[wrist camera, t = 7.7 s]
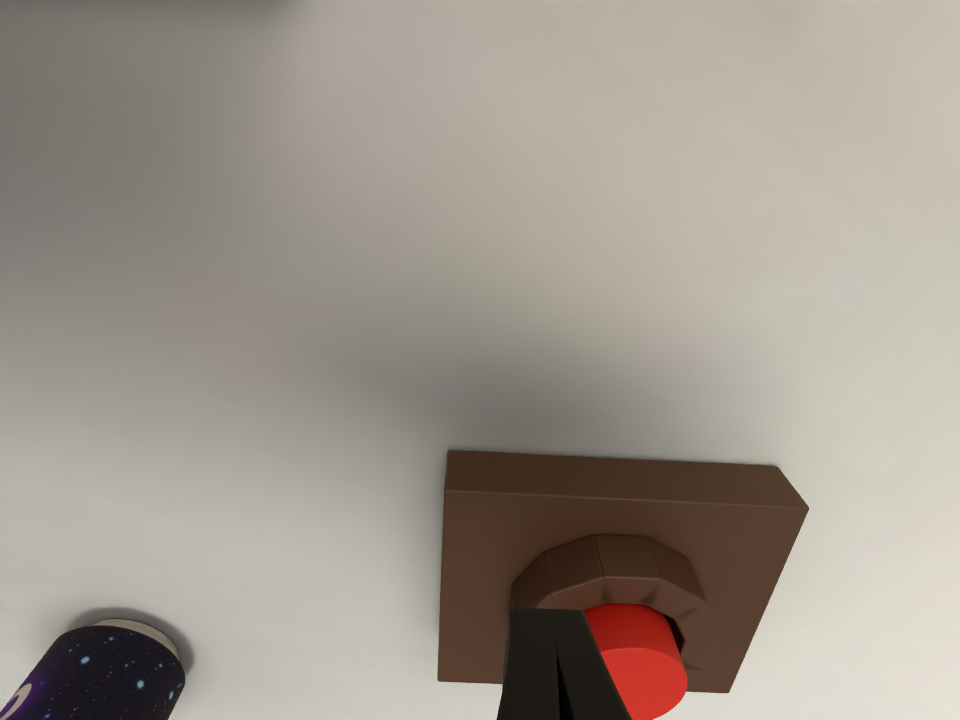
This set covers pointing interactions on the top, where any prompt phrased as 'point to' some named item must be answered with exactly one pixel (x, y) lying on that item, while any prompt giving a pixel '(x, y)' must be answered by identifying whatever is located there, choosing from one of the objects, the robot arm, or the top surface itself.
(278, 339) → the top surface
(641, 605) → the button
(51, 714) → the beverage can
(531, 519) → the panel
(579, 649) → the robot arm
